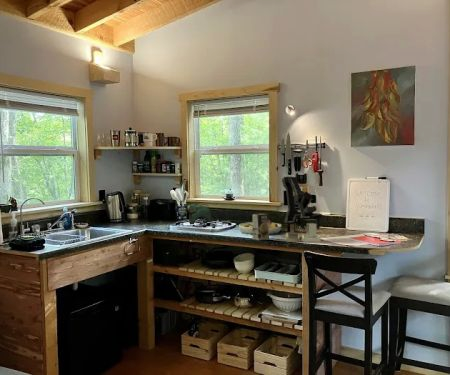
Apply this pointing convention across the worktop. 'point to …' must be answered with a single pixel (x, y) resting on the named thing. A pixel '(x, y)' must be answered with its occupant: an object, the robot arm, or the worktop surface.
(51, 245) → the worktop surface
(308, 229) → the lever cap
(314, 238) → the tray
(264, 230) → the coffee box
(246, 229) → the bowl
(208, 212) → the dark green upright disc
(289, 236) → the plane body
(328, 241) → the worktop surface
